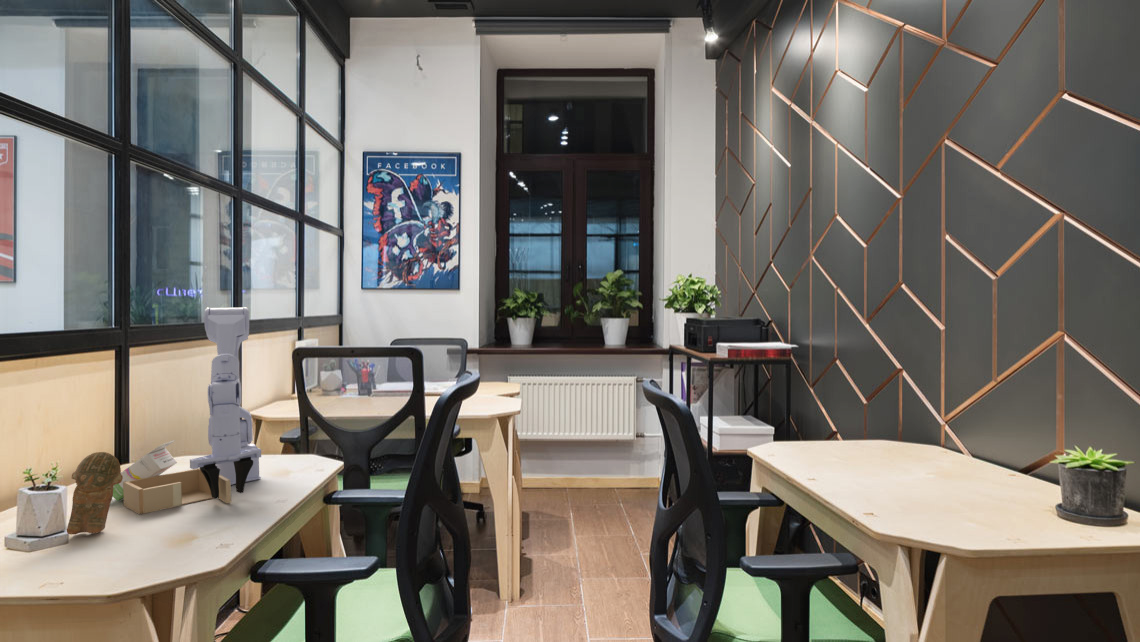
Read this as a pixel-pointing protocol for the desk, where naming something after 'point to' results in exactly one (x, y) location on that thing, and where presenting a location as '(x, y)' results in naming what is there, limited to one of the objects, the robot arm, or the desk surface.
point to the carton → (191, 484)
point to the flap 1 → (162, 497)
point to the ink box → (146, 468)
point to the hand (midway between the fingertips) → (227, 494)
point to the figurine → (93, 492)
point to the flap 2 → (224, 489)
